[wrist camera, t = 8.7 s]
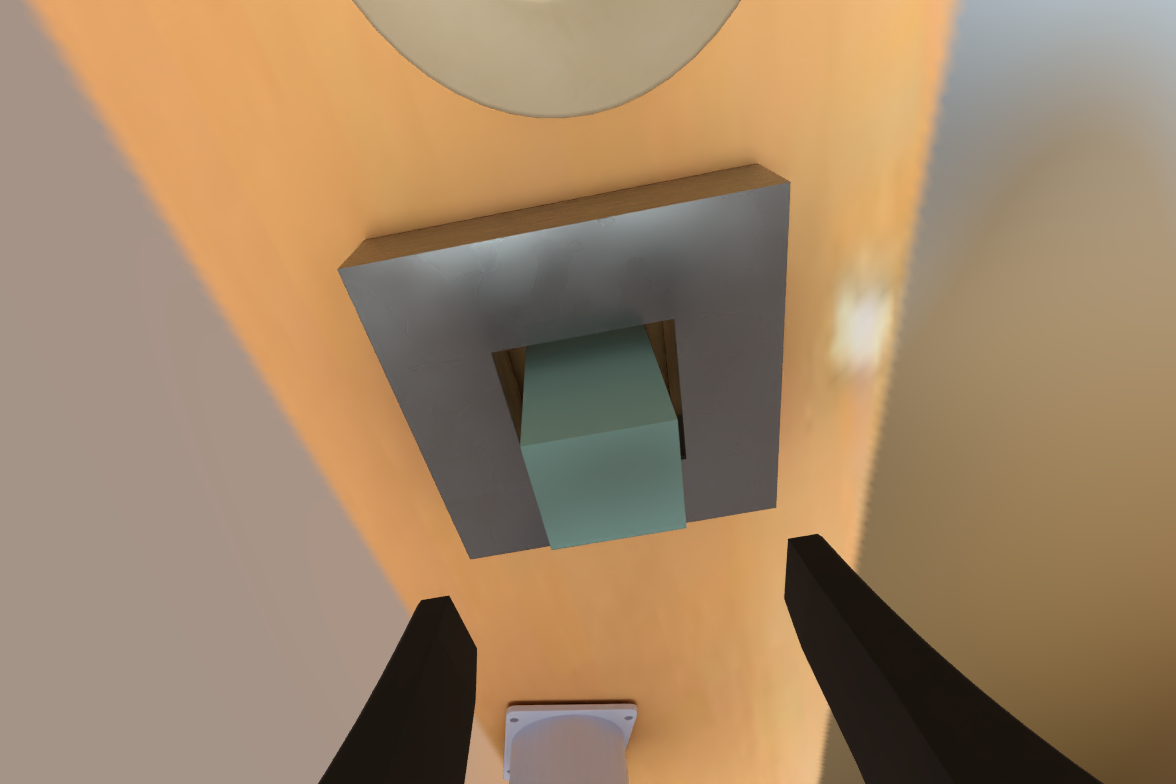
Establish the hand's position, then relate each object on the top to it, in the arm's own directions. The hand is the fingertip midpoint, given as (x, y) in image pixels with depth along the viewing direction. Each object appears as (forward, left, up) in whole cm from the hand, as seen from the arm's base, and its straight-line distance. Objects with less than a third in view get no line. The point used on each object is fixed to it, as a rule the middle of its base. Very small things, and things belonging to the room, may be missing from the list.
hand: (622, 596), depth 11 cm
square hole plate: (0, 0, -9) cm, 9 cm away
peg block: (0, 0, -9) cm, 9 cm away
